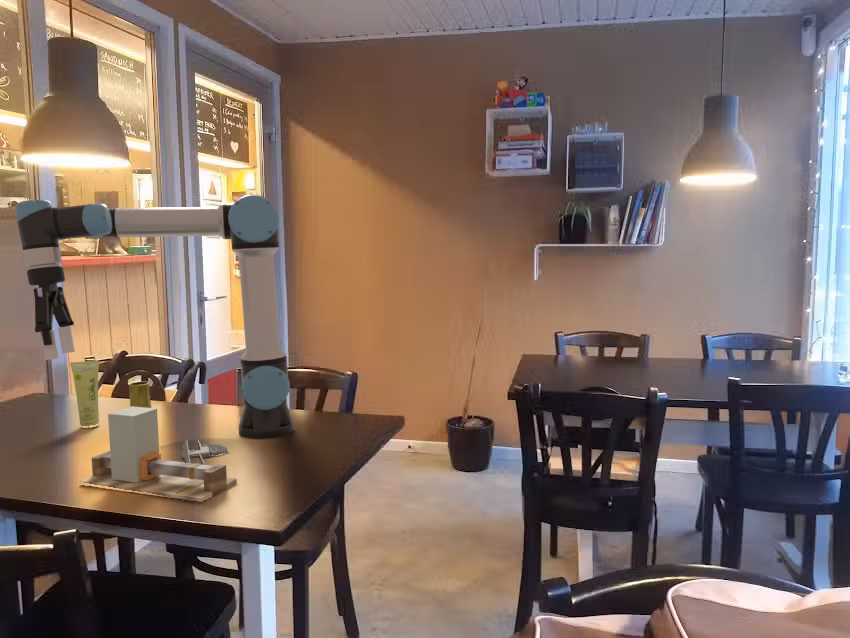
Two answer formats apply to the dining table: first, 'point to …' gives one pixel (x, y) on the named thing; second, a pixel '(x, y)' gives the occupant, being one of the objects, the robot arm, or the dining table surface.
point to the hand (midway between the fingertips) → (60, 355)
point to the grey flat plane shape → (202, 451)
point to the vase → (140, 394)
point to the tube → (86, 391)
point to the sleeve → (133, 443)
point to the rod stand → (167, 478)
